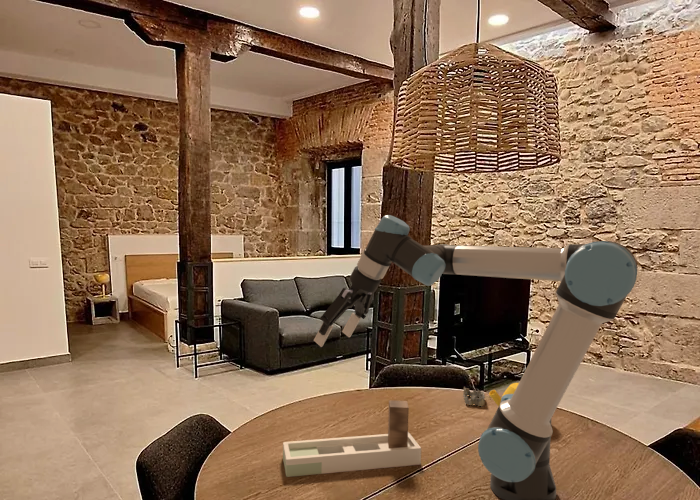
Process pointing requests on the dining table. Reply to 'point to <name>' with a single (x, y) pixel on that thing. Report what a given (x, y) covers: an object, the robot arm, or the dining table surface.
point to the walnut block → (398, 424)
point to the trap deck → (347, 454)
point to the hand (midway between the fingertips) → (332, 338)
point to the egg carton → (474, 397)
